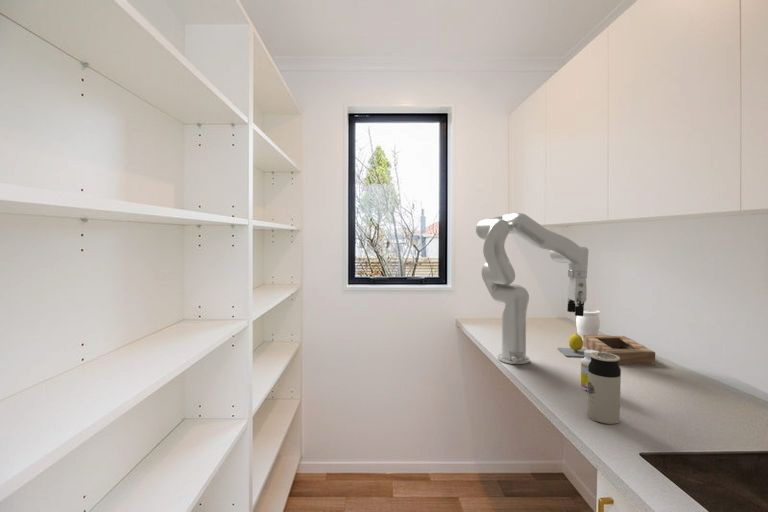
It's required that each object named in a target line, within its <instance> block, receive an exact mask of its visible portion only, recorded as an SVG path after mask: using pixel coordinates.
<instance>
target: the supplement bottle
mask: <svg viewBox="0 0 768 512" xmlns="http://www.w3.org/2000/svg"><path fill="white" fill-rule="evenodd" d="M592 352H599V351H595V350H588V349H587V350H585V351H584V355H585V357H584V358H582V357H581V360H580V387H581V389H582V390H583V391H586V390H587V392H588V365H589V363H590V362H591V357H590V353H592Z"/></svg>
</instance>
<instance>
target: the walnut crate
mask: <svg viewBox="0 0 768 512" xmlns="http://www.w3.org/2000/svg"><path fill="white" fill-rule="evenodd" d="M582 347H584V348H585V347H586V348H585V349H587V350H595V351H599V352H605V353H611V354H614V355H617V356H619V357H620V360H619V362H618V365H635V364H640V365H641V366H655V365H656V351H653V350H651V349H650V348H649V347H646V346H644V345H642V344H640V343H638V342H637V341H635V340H633V339H632V338H629V337H627V336H625V335H609V334H608V335H607V334H605V335H603V334H598V335H583V346H582ZM617 347H623V348H617ZM640 365H639V366H640Z"/></svg>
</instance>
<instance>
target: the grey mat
mask: <svg viewBox="0 0 768 512" xmlns="http://www.w3.org/2000/svg"><path fill="white" fill-rule="evenodd" d="M557 350H558V351H559V352H560V354H562V353H563V354H564V357H566V358H582V357H585V355H584V351H585V350H588V349H587V348H583V347H582V348H581V349H580V350H578V351H576V352H575V351H574V350H573V349H571V348H570V347H557ZM563 354H562V355H563Z"/></svg>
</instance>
